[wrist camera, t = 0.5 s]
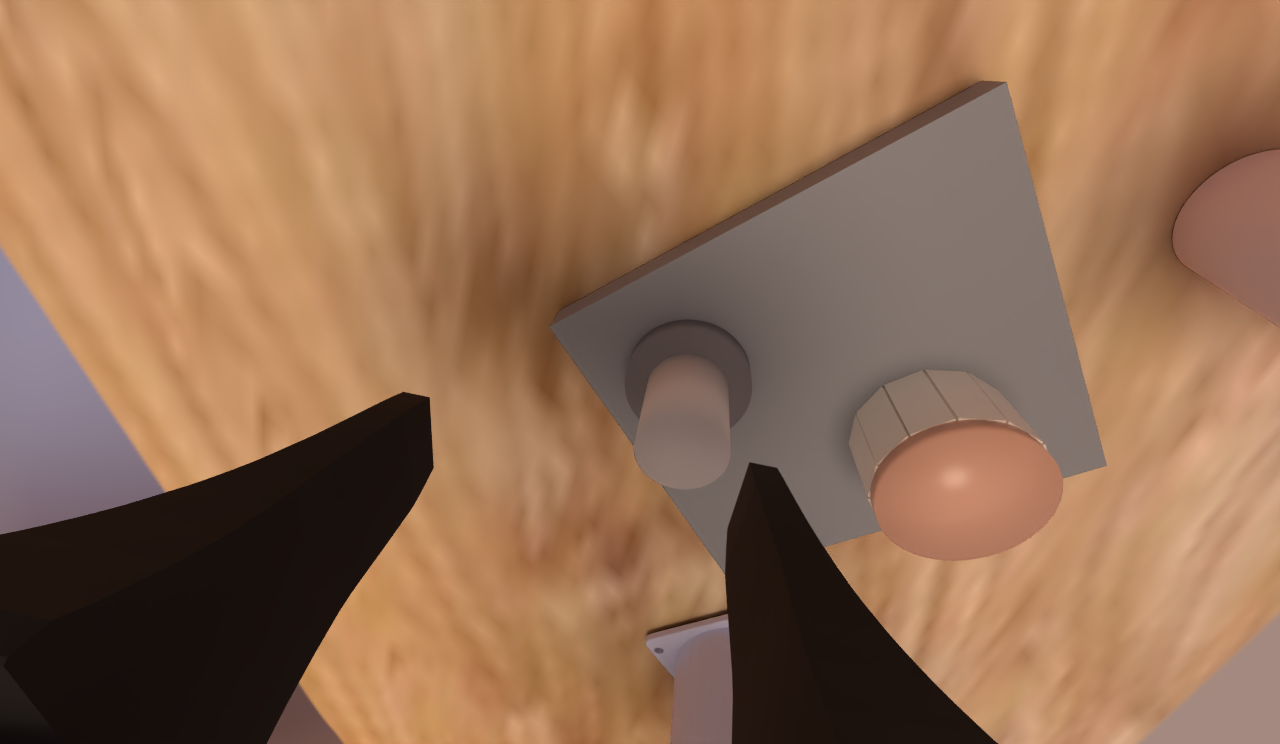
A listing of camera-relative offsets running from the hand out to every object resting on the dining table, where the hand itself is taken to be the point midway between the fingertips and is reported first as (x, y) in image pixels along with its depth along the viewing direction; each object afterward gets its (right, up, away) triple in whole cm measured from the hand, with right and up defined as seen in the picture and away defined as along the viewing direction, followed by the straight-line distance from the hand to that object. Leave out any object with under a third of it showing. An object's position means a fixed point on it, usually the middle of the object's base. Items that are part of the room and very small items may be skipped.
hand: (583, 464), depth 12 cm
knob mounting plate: (+8, +2, +8) cm, 12 cm away
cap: (+12, 0, +7) cm, 14 cm away
